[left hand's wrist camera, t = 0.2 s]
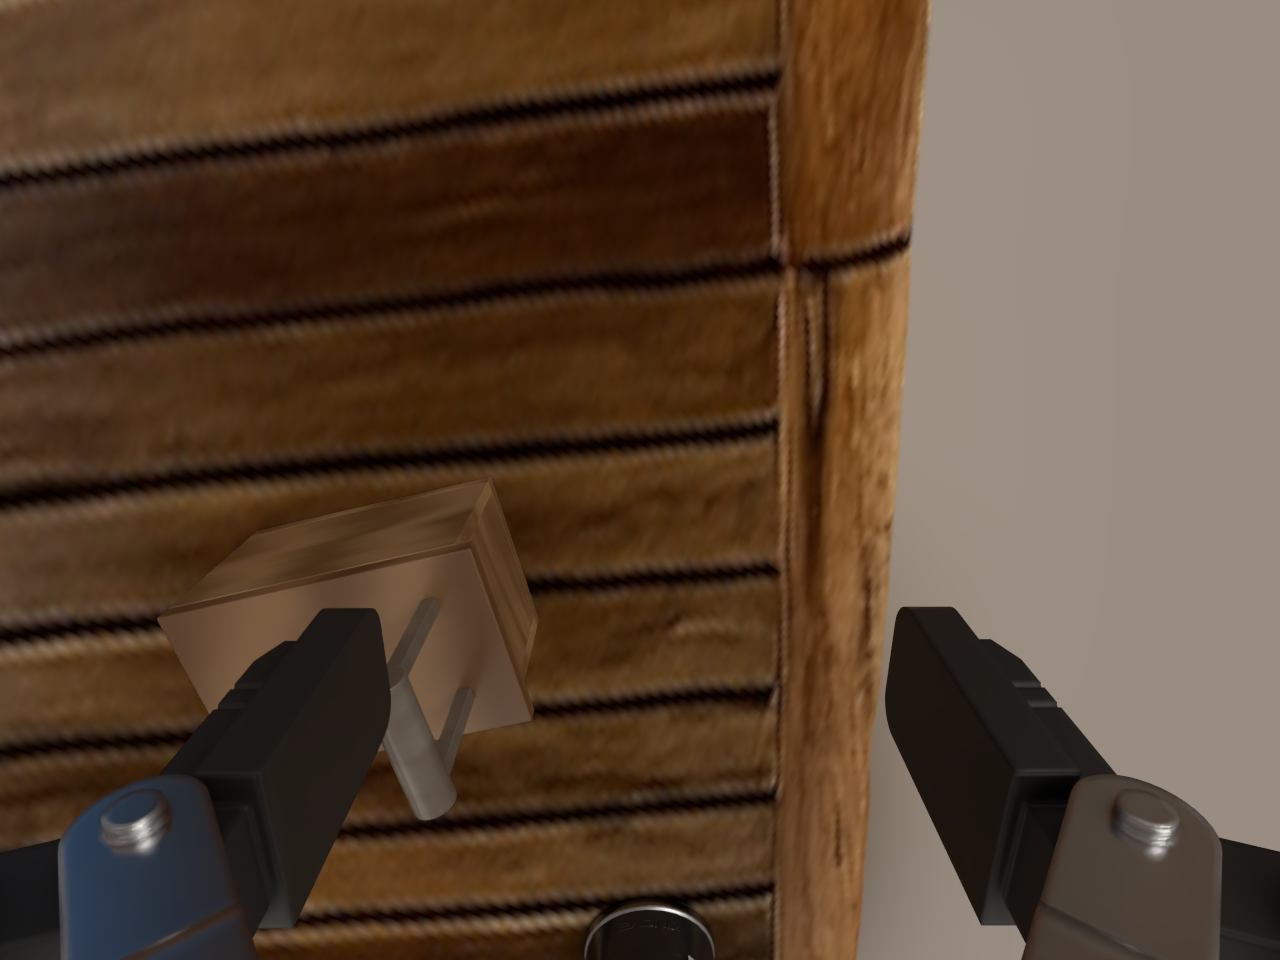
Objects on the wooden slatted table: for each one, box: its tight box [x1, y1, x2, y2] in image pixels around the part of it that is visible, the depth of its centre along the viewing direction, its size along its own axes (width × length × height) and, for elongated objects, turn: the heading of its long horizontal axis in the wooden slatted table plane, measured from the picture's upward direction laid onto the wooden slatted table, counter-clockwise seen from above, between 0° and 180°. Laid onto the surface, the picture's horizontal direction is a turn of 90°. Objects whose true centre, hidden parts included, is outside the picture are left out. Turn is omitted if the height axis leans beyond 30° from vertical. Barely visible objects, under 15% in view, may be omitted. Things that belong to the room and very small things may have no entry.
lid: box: [157, 541, 534, 820], centre depth 32 cm, size 15×10×8 cm, turn 104°
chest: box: [169, 477, 539, 680], centre depth 40 cm, size 14×10×9 cm
